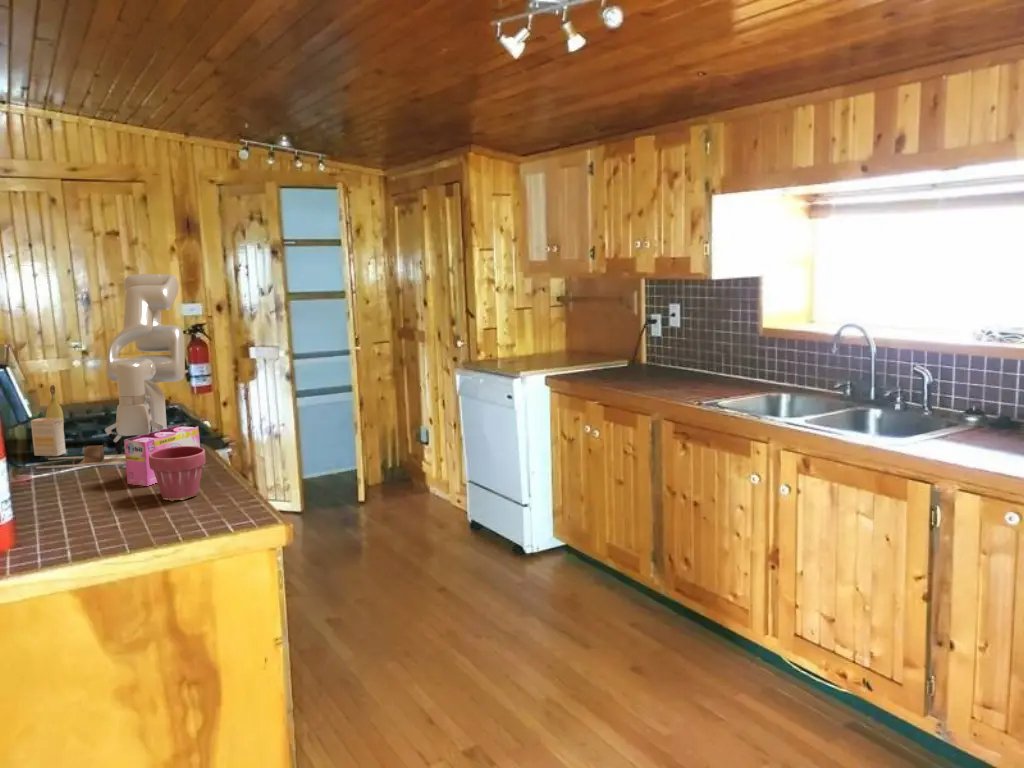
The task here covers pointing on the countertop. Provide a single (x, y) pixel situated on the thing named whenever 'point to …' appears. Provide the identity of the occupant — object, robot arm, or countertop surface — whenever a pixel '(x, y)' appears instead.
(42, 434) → the supplement box
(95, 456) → the block
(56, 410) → the banana
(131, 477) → the gum box
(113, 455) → the rails
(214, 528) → the countertop surface
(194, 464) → the plant pot
